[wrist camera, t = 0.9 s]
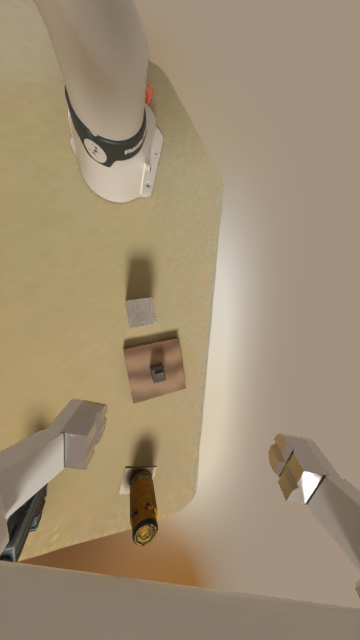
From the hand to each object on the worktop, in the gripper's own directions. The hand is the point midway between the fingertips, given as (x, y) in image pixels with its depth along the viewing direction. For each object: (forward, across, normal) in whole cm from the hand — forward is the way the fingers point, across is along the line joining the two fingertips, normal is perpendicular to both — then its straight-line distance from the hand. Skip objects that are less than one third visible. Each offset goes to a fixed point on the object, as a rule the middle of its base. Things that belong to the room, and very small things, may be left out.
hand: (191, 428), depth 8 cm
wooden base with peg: (+34, +4, +20) cm, 40 cm away
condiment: (+26, +3, +50) cm, 56 cm away
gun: (+20, +25, +47) cm, 57 cm away
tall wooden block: (+36, +11, +6) cm, 38 cm away
